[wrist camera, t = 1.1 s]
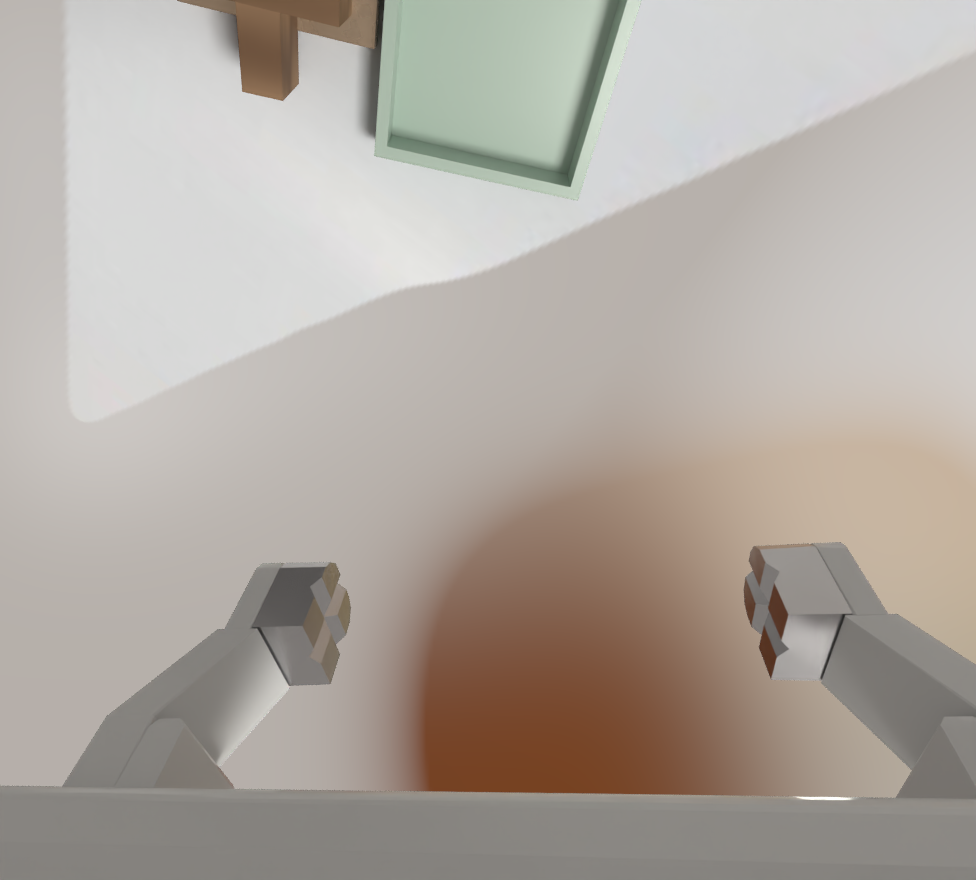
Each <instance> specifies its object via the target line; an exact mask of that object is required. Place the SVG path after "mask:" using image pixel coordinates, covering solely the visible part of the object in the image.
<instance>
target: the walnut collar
mask: <svg viewBox="0 0 976 880" xmlns="http://www.w3.org/2000/svg"><path fill="white" fill-rule="evenodd" d="M230 1H234V2H235V5H236V18H237V30H238V43H239V55H240V68H241V80H242V92H246V93H251V94H255V95H259V96H264V97H268V98H273V99H277V100H281V101H283V100H284V99H285V98H286V97H287V96H288V95H289V94H290V93H291V91H292V90H293V89H294V88H295V87H296V86H297V85H298V84H299V72H298V20H297V17H298V18H302V19H306V20H310V21H314V22H319V23H323V24H327V25H331V26H335V27H340V26H341V25H342V24H343V23H344V22H345V21H346V20H347V19H348V18H349V17H350V16H351V15H352V0H230Z"/></svg>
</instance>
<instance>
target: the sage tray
mask: <svg viewBox="0 0 976 880" xmlns="http://www.w3.org/2000/svg"><path fill="white" fill-rule="evenodd" d="M640 4H641V0H385V3H384V18H383V33H382V48H381V63H380V78H379V93H378V108H377V123H376V138H375V153H374V156H376V157H381V158H385V159H390V160H394V161H399V162H403V163H408V164H413V165H417V166H422V167H426V168H431V169H435V170H440V171H444V172H449V173H453V174H458V175H463V176H467V177H472V178H476V179H481V180H485V181H490V182H494V183H499V184H503V185H508V186H513V187H517V188H522V189H526V190H531V191H535V192H540V193H544V194H549V195H553V196H558V197H563V198H567V199H572V200H576V201H578V198H579V195H580V192H581V189H582V186H583V183H584V179H585V176H586V173H587V170H588V167H589V164H590V161H591V158H592V154H593V151H594V148H595V145H596V142H597V139H598V136H599V132H600V129H601V126H602V123H603V120H604V117H605V114H606V110H607V107H608V104H609V101H610V98H611V95H612V92H613V88H614V85H615V82H616V79H617V76H618V73H619V70H620V66H621V63H622V60H623V57H624V54H625V51H626V48H627V44H628V41H629V38H630V35H631V32H632V29H633V26H634V22H635V19H636V16H637V13H638V10H639V7H640Z"/></svg>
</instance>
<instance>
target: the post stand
mask: <svg viewBox="0 0 976 880" xmlns="http://www.w3.org/2000/svg"><path fill="white" fill-rule="evenodd" d="M177 1H180V2H184V3H188V4H192V5H196V6H200V7H204V8H208V9H212V10H217V11H221V12H225V13H229V14H233V15H236V5H235V2H234V1H230V0H177ZM378 16H379V0H352V15H351V16H350V17H349V18H348V19H347V20H346V21H345V22H344V23H343V24H342V25H341V26H340V27H335V26H331V25H327V24H323V23H319V22H314V21H310V20H306V19H302V18H298V17H297V20H298V31H302V32H306V33H311V34H315V35H319V36H323V37H327V38H331V39H335V40H339V41H343V42H347V43H351V44H355V45H360V46H364V47H368V48H372V49H375V47H376V46H377V32H378Z"/></svg>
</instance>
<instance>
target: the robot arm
mask: <svg viewBox="0 0 976 880" xmlns="http://www.w3.org/2000/svg"><path fill="white" fill-rule="evenodd" d="M749 562H750V565H751V567H752V570H753V571H752V572H751V573H750V574H748V575H747V576H746V577H745V585H744V602H745V607H746V612H747V616H748V619H749V621H750V624H751V627H752V628H754V629H755V630H756V631H757V632H759V633H760V634H761V635H762V636H761V640H760V645H759V649H760V652H761V654H762V657H763V660H764V662H765V665H766V667H767V670H768V673H769V676H770V678H771V680H821V683H822V684H823V685H824V686H825V687H826V688H827V689H828V690H829V691H830V692H831V693H832V694H833V695H834V696H835V697H836V698H837V699H838V700H839V701H840V702H842V704H843V705H845V706H846V707H847V708H848V709H849V710H850V711H851V712H852V713H853V714H854V715H855V716H856V717H857V718H858V719H859V720H860V721H861V722H862V723H863V724H864V725H865V726H866V727H868V728H869V729H870V730H871V731H872V732H873V733H874V734H875V735H876V736H877V737H878V738H879V739H880V740H881V741H882V742H883V743H884V744H885V745H886V746H887V747H888V748H889V749H890V750H891V751H892V752H894V753H895V754H896V755H897V756H898V757H899V758H900V759H901V760H902V761H903V762H904V763H905V764H906V765H907V766H908V767H909V768H910V769H911V770H912V771H911V773H910V775H909V776H908V778H907V780H906V782H905V783H904V785H903V786H902V788H901V790H900V791H899V793H898V795H897V797H896V798H866V797H792V796H785V797H784V796H718V795H711V796H710V795H646V794H640V795H639V794H576V793H498V792H419V791H417V792H415V791H344V790H342V791H340V790H268V789H267V790H265V789H261V790H260V789H234V786H233V784H232V783H231V782H230V781H229V779H228V778H227V777H226V775H225V774H224V773H223V772H222V771H221V769H220V768H219V767H220V766H221V765H222V764H223V763H224V762H225V761H226V759H227V758H228V757H229V756H230V755H231V754H232V753H233V751H234V750H235V749H236V748H237V747H238V746H239V745H240V743H242V741H243V740H244V739H245V738H246V737H247V736H248V735H249V734H250V732H251V731H252V730H253V729H254V728H255V727H256V726H257V724H258V723H259V722H260V721H261V720H262V719H263V718H264V717H265V716H266V714H267V713H268V712H269V711H270V710H271V709H272V708H273V707H274V705H275V704H276V703H277V702H278V701H279V700H280V699H281V697H282V696H283V695H284V694H285V693H286V692H287V691H288V690H289V689H290V687H289V686H293V685H320V684H330V683H331V681H332V677H333V674H334V671H335V668H336V665H337V661H338V659H339V656H340V654H339V651H338V649H337V647H336V644H337V643H338V642H339V641H340V640H341V639H342V638H343V637H344V636H345V635H346V633H347V629H348V626H349V623H350V610H351V607H350V601H349V596H348V593H347V591H346V589H345V588H344V587H342V586H341V585H340V584H338V580H339V577H340V573H339V570H338V568H337V566H336V564H335V563H331V562H319V563H318V562H313V563H312V562H311V563H268V564H267V563H263V564H261V565H260V566H259V567H258V568H257V569H256V570H255V572H254V574H253V576H252V578H251V579H250V581H249V583H248V585H247V587H246V589H245V591H244V593H243V595H242V597H241V599H240V600H239V602H238V605H237V606H236V608H235V610H234V612H233V614H232V616H231V618H230V619H229V621H228V623H227V625H226V627H225V629H218V630H216V631H215V632H214V633H212V634H211V635H210V636H208V637H207V638H206V639H205V640H203V641H202V642H201V643H200V644H198V645H197V646H196V647H195V648H193V649H192V650H191V651H189V652H188V653H187V654H186V655H184V656H183V657H182V658H180V659H179V660H178V661H177V662H175V663H174V664H173V665H171V666H170V667H169V668H168V669H166V670H165V671H164V672H163V673H161V674H160V675H159V676H157V677H156V678H155V679H154V680H152V681H151V682H150V683H148V684H147V685H146V686H145V687H143V688H142V689H141V690H140V691H138V692H137V693H136V694H134V695H133V696H132V697H131V698H129V699H128V700H127V701H125V702H124V703H123V704H122V705H120V706H119V707H118V708H117V709H115V710H114V711H113V712H111V713H110V714H109V715H107V716H106V718H105V720H104V721H103V723H102V724H101V726H100V727H99V729H98V731H97V732H96V734H95V736H94V737H93V739H92V740H91V742H90V743H89V745H88V746H87V748H86V750H85V751H84V753H83V754H82V756H81V758H80V759H79V761H78V763H77V764H76V766H75V767H74V769H73V770H72V772H71V773H70V775H69V777H68V778H67V780H66V781H65V783H64V785H63V786H62V787H54V786H0V880H976V665H975V664H974V663H972V662H971V661H969V660H968V659H966V658H964V657H963V656H962V655H960V654H958V653H957V652H955V651H954V650H952V649H951V648H949V647H948V646H946V645H945V644H943V643H941V642H940V641H938V640H937V639H935V638H934V637H932V636H931V635H929V634H928V633H926V632H925V631H923V630H921V629H920V628H918V627H917V626H915V625H914V624H912V623H911V622H909V621H908V620H906V619H904V618H903V617H901V616H900V615H898V614H888V613H887V611H886V610H885V608H884V606H883V605H882V603H881V601H880V600H879V598H878V597H877V595H876V593H875V592H874V590H873V589H872V587H871V585H870V584H869V582H868V581H867V579H866V577H865V576H864V574H863V572H862V571H861V569H860V568H859V566H858V564H857V563H856V561H855V560H854V558H853V556H852V555H851V553H850V552H849V550H848V548H847V547H846V546H845V545H844V544H842V543H841V542H835V543H812V544H787V545H765V546H754V547H753V549H752V550H751V552H750V558H749Z"/></svg>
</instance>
